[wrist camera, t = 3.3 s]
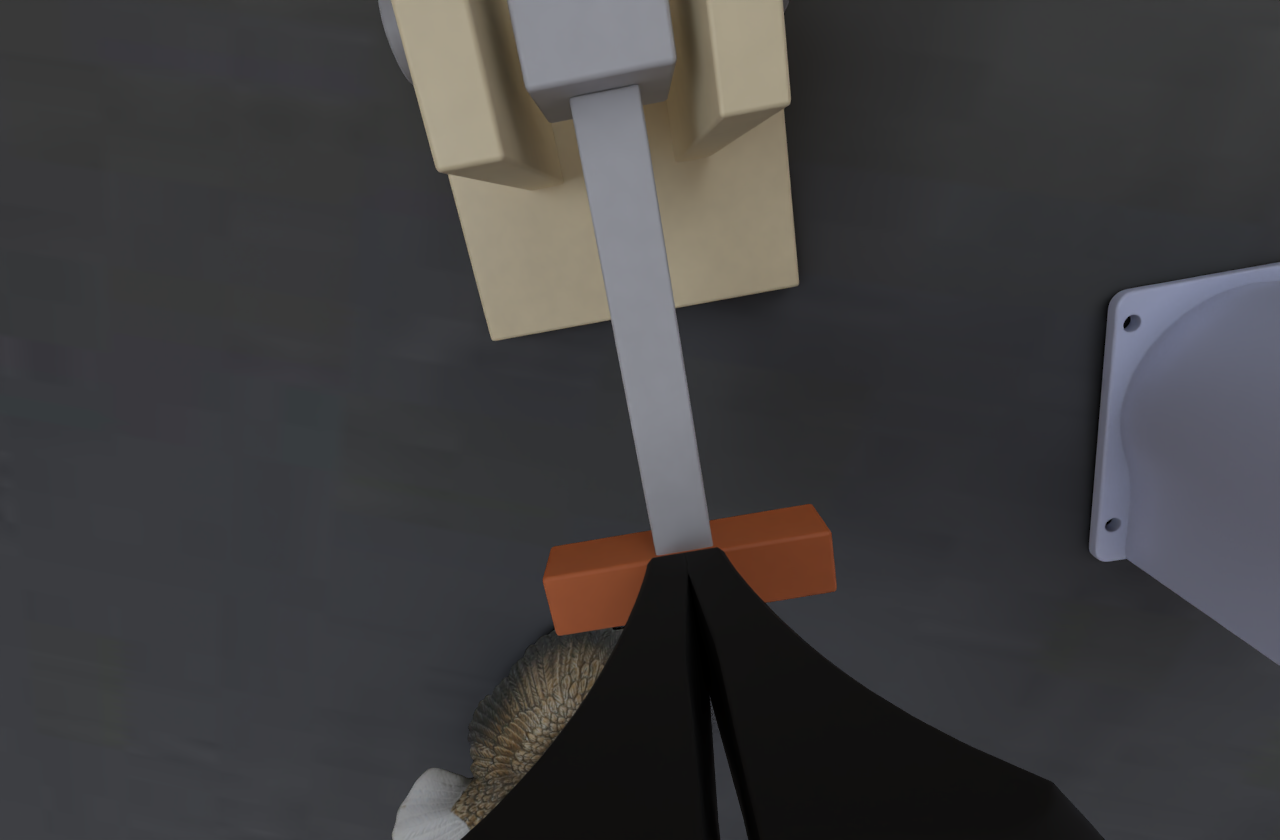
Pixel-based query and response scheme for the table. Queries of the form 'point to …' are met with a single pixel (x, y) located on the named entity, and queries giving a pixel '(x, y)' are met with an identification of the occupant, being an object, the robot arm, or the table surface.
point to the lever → (643, 318)
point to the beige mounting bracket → (552, 172)
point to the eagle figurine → (508, 735)
